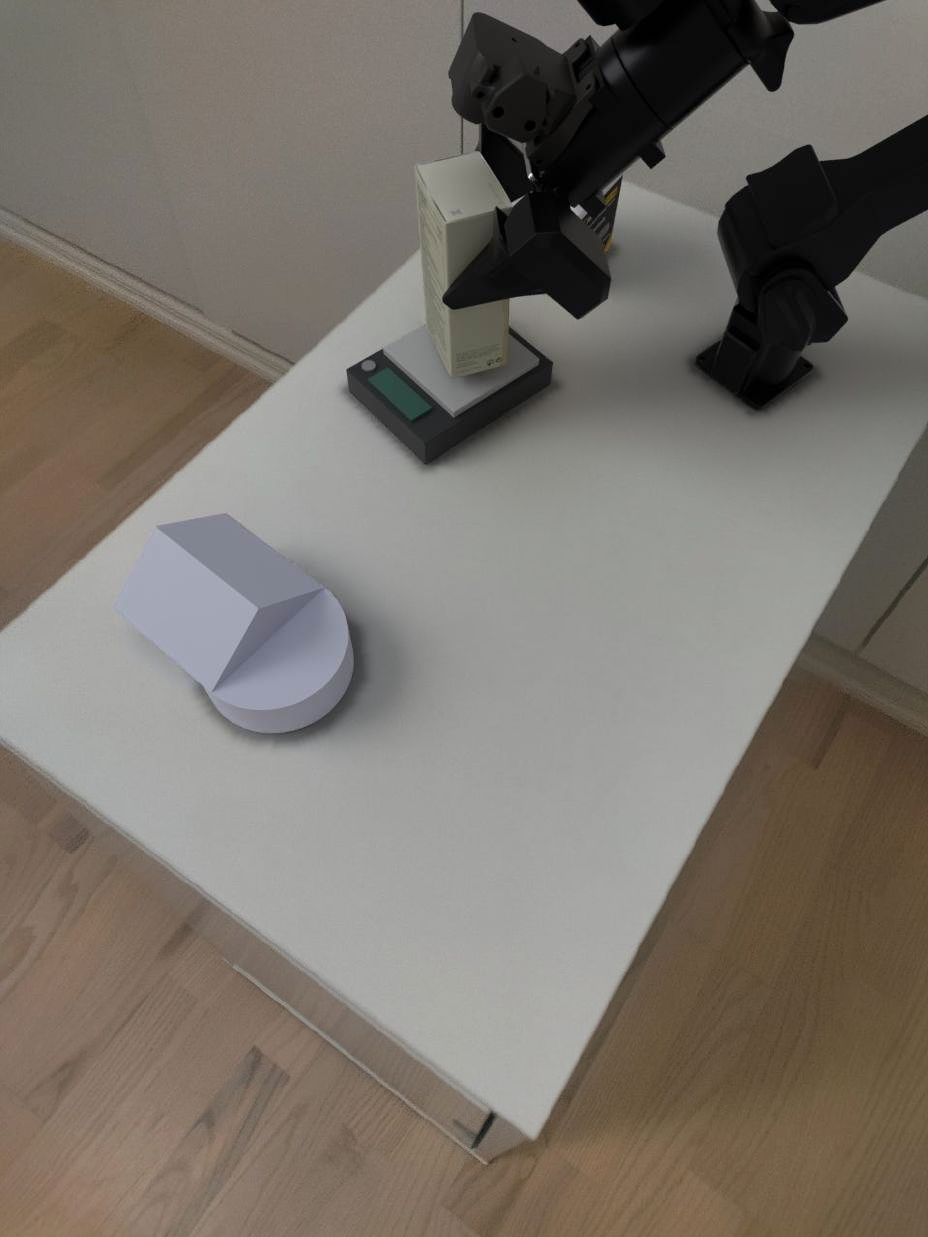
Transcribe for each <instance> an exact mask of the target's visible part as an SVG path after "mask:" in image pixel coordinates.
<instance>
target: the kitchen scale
mask: <svg viewBox="0 0 928 1237" xmlns="http://www.w3.org/2000/svg"><path fill="white" fill-rule="evenodd" d="M553 368H554V362H553V361H552V360H551V359H550V358H548V357H547V356H546V355H545V354H543V353H542V352H541V351H540V350H538V349H537V348H536V347H535V346H534V345H533V344H531V343H530V342H529V341H527V340H526V339H525V338H524V337H523V336H522V335H520V334H519V333H518V332H517V331H515V330H514V329H513V328H511V326H509V336H508V363H507V364H506V365H503V366H499V367H496V368H492V369H489V370H485V371H481V372H477V373H474V374H469V375H465V376H461V377H457V378H454V379H453V378H451V377H450V375H449V373H448V371H447V369H446V367H445V365H444V363H443V361H442V359H441V356H440V354H439V352H438V350H437V348H436V345H435V343H434V341H433V339H432V337H431V334H430V332H429V330H428V327H427V325H426V323H424V324H423V325H421V326H419V327H417V328H415V329H413V330H411V331H410V332H407V334H405V335H403V336H401V337H399V338H397V339H396V340H394V341H392V342H391V343H389V344H387V345H385V346H384V347H382V348H381V349H379V350H377V351H375V352H374V353H372V354H370V355H369V356H367V357H365V358H363V359H361V360H360V361H358V362H357V363H354V364H353V365H352V366H350V367H348V368H345V371H346V378H347V386H348V392H349V393H350V394H351V395H352V396H354V397H355V398H356V400H358V402H360V404H362V405H363V406H364V407H365V408H366V410H368V411H369V412H370V413H371V414H372V415H373V416H374V417H375V418H376V419H378V420H379V421H380V422H381V424H383V425H384V426H385V427H386V428H387V429H388V430H389V431H390V432H391V433H392V434H393V435H394V436H395V437H396V438H398V440H399V441H400V442H401V443H402V444H404V446H406V447H407V448H408V449H409V450H410V451H411V453H413V454H414V455H415V456H416V457H417V458H418V459H419V460H421V462H422V463H424V465H427V464H429V463H430V462H432V461H433V460H435V459H436V458H438V457H440V456H441V455H443V454H444V453H446V452H447V451H449V450H451V449H452V448H453V447H455V446H456V445H458V444H460V443H461V442H463V441H465V440H467V439H468V438H469V437H471V436H473V435H474V434H476V433H477V432H478V431H481V430H482V429H483V428H485V427H487V426H488V425H489V424H491V423H492V422H494V421H496V420H498V419H499V418H501V417H503V415H505V414H507V413H508V412H510V411H512V410H513V409H515V408H516V407H517V406H519V405H521V404H523V403H524V402H526V401H527V400H528V399H531V397H533V396H535V395H536V394H538V393H540V392H541V391H543V390H544V389H546V388H547V387H549V386H551V384H552V376H553Z"/></svg>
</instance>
